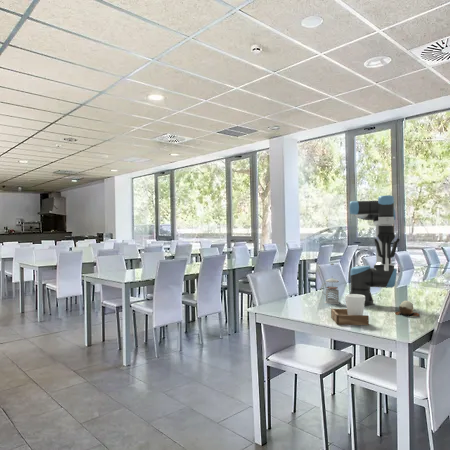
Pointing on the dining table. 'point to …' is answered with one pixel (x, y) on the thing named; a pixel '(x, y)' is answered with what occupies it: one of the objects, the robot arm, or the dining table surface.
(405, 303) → the white and brown lump
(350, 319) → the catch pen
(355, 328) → the dining table surface
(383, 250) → the robot arm
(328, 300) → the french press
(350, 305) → the foam cup
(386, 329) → the dining table surface
